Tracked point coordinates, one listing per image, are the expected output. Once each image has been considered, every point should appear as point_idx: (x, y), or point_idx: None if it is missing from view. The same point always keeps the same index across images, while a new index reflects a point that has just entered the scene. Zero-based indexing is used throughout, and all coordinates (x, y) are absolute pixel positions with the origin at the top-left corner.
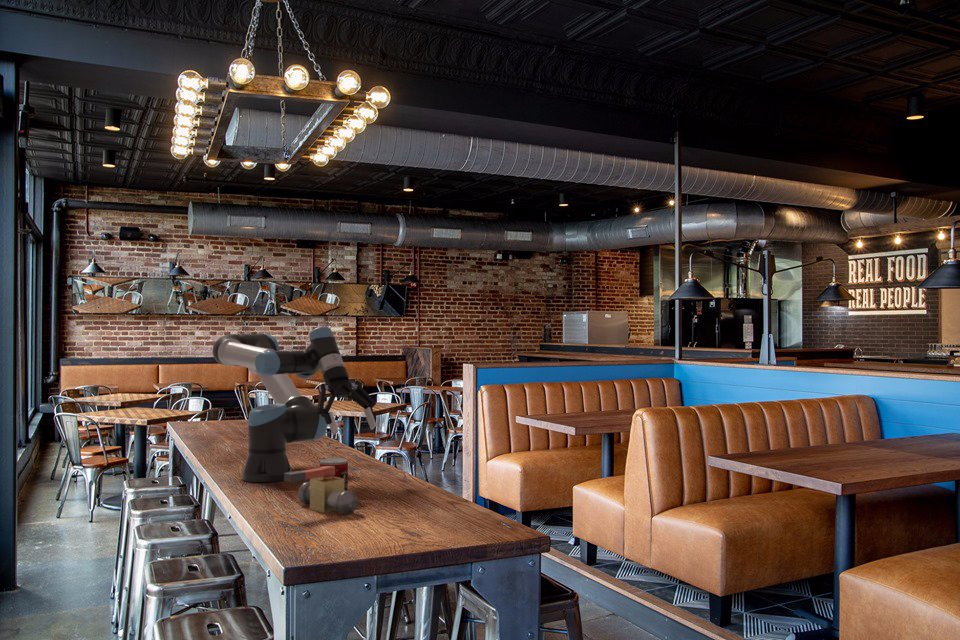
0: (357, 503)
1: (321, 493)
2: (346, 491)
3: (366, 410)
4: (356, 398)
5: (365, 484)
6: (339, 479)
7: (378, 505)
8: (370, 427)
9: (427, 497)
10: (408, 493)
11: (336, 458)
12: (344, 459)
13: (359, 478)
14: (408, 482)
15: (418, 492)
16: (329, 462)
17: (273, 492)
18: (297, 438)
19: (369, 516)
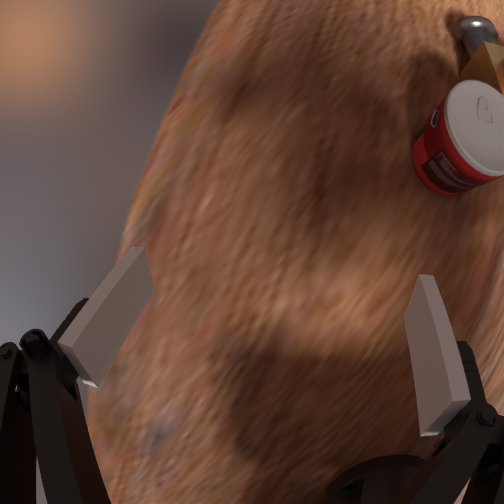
0: (454, 27)
1: None
2: (485, 19)
3: (89, 360)
4: (83, 473)
5: (263, 257)
6: (495, 44)
7: (387, 44)
8: (149, 293)
9: (255, 31)
10: (257, 82)
11: (466, 149)
12: (452, 112)
13: (220, 341)
14: (164, 190)
15: (232, 77)
16: (501, 126)
17: (487, 350)
18: None
19: (438, 11)
